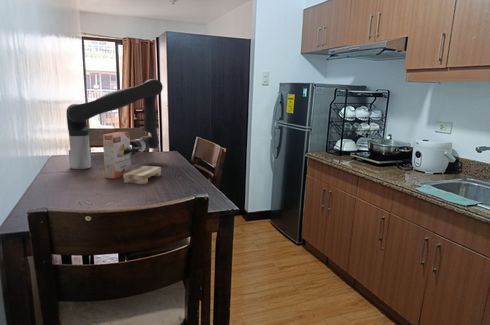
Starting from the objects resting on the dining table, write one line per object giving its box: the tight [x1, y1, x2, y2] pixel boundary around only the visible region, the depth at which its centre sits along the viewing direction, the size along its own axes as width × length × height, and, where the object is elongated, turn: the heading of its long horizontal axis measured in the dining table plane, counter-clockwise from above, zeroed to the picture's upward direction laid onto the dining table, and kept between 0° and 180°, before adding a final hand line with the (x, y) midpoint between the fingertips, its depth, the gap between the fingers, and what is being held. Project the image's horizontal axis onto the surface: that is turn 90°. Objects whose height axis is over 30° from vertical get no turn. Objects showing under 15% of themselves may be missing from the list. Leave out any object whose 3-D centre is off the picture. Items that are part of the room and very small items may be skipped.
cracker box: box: [102, 131, 132, 180], centre depth 157 cm, size 14×6×21 cm, turn 168°
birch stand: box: [122, 165, 162, 185], centre depth 154 cm, size 10×18×4 cm, turn 170°
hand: (118, 152), depth 157 cm, fingers open, 6 cm apart
